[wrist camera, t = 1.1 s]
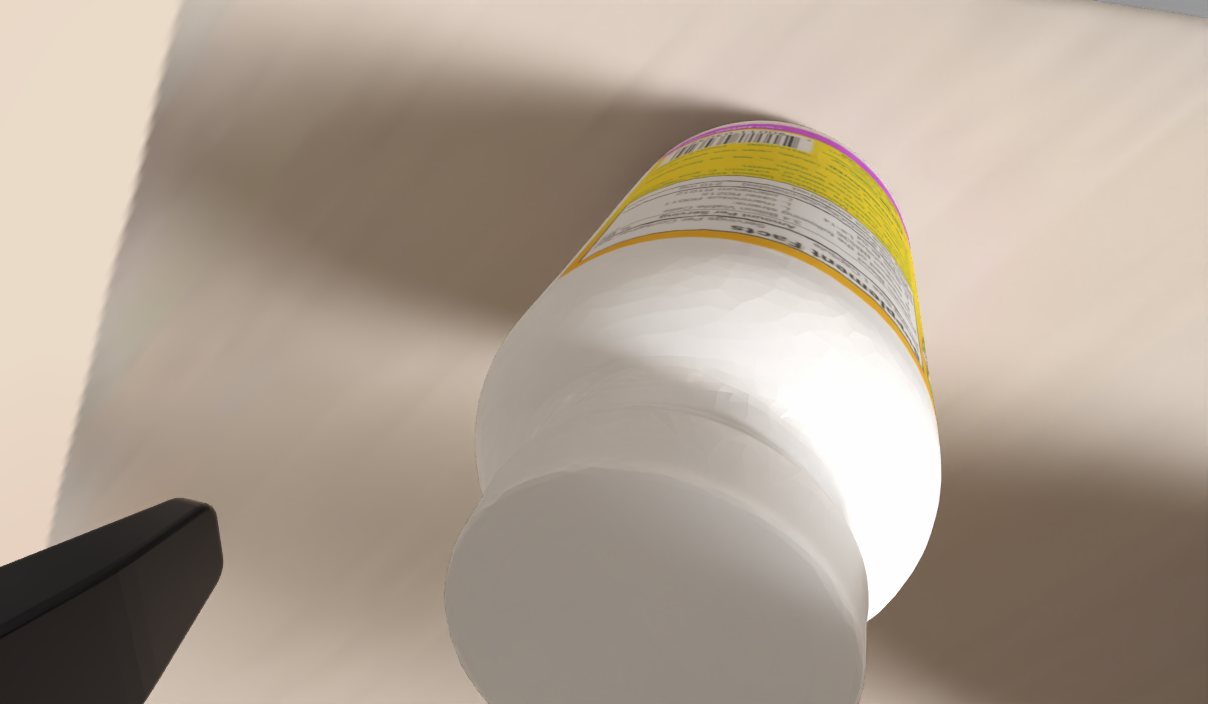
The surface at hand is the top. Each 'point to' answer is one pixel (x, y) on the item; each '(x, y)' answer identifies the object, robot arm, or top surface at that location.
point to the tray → (1169, 5)
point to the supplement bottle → (705, 441)
